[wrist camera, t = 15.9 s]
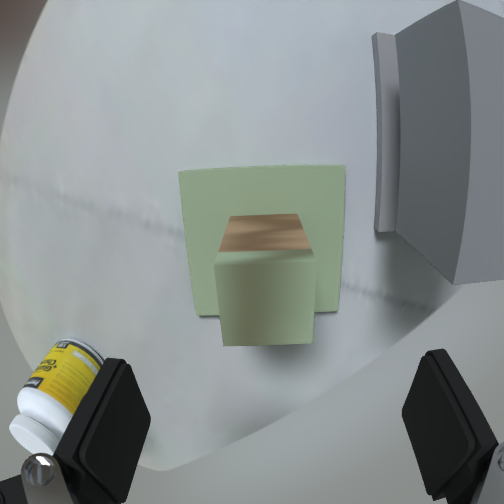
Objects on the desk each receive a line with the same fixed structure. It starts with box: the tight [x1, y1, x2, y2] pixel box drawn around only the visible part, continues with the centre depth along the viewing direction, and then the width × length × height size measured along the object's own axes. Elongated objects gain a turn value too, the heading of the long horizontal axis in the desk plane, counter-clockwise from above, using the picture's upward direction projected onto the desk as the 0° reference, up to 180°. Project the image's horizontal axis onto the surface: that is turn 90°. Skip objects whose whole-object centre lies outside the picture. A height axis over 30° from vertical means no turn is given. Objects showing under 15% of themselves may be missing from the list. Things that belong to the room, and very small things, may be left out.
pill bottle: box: [9, 339, 103, 456], centre depth 23 cm, size 6×6×12 cm
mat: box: [178, 165, 345, 315], centre depth 23 cm, size 11×11×1 cm
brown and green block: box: [214, 214, 316, 346], centre depth 19 cm, size 4×4×8 cm
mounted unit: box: [372, 0, 504, 285], centre depth 14 cm, size 6×14×11 cm, turn 3°
